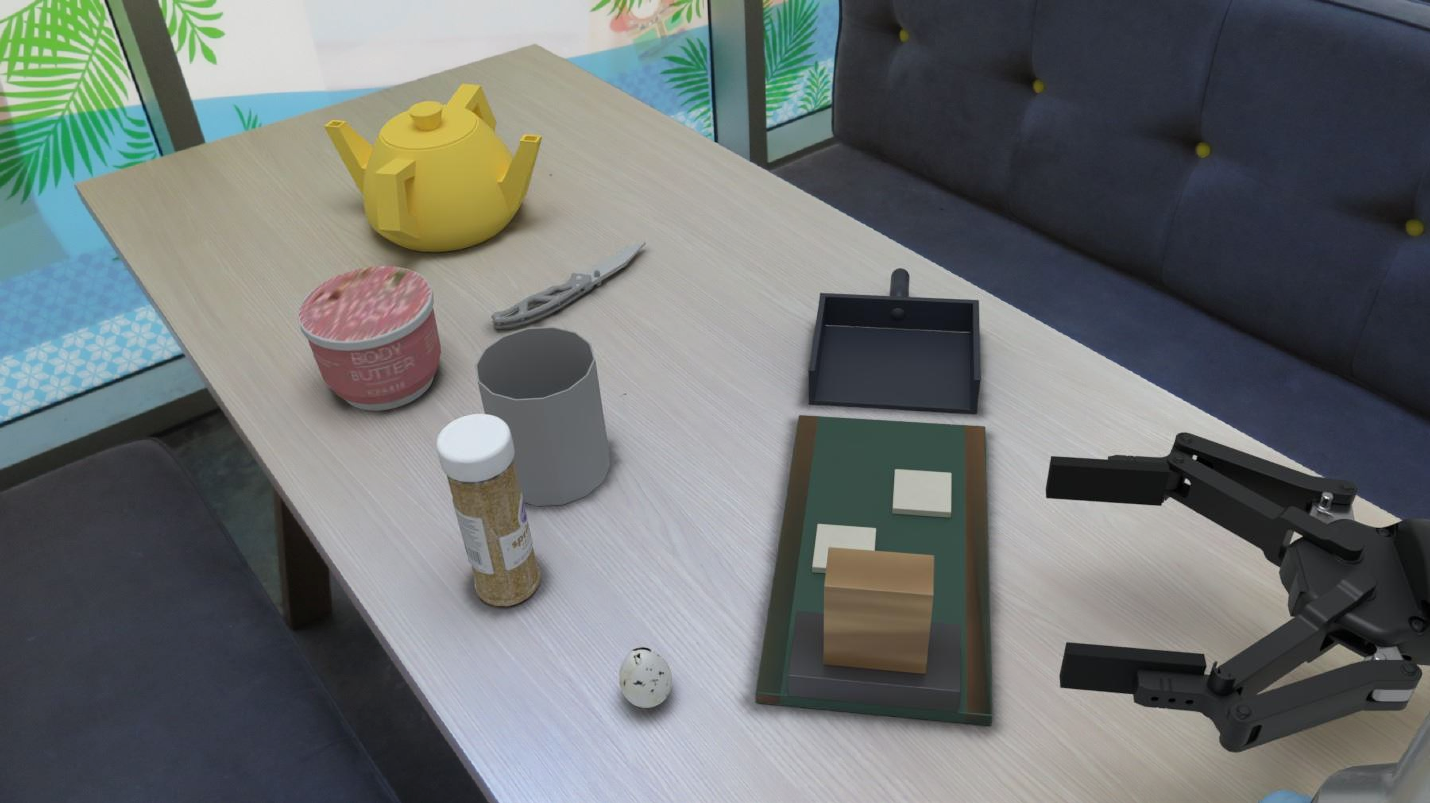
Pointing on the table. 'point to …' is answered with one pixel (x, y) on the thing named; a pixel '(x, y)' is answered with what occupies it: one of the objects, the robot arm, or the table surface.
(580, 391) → the cup
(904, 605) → the eraser
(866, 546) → the white flat square block
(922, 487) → the smudge
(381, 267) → the container
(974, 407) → the dustpan
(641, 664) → the egg
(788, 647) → the chalkboard
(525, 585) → the sprinkles bottle
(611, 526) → the table surface
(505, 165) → the teapot
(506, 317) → the knife
